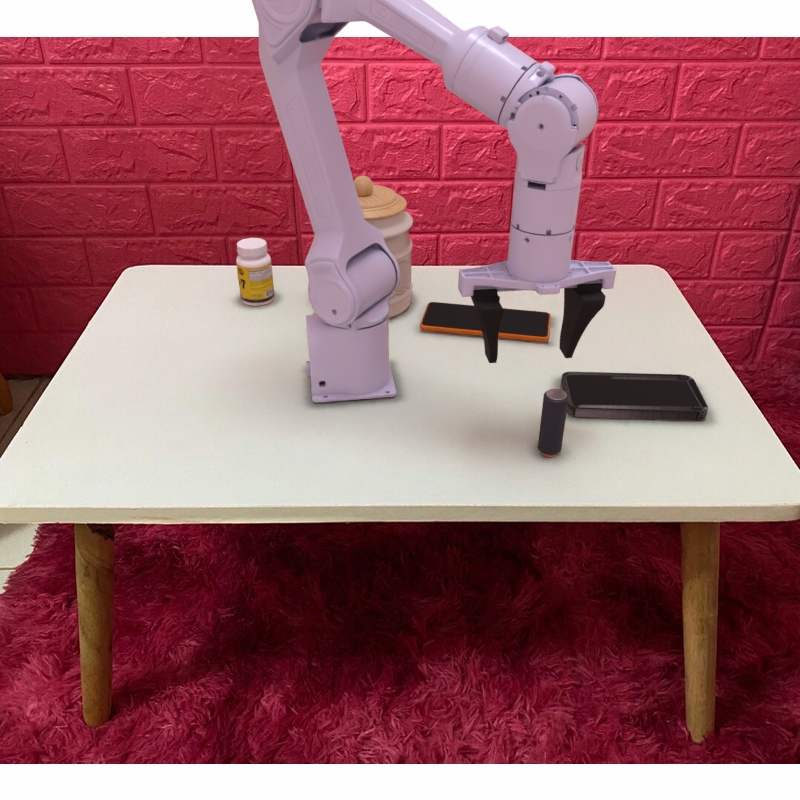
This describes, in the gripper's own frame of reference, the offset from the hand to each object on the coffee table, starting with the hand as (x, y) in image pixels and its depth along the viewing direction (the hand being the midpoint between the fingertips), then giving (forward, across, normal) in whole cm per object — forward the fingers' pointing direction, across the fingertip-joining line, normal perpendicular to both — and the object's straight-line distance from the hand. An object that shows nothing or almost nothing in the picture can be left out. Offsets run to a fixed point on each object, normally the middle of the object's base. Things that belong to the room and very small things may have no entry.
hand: (528, 355), depth 76 cm
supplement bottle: (+10, -28, +36) cm, 47 cm away
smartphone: (+9, +2, +24) cm, 26 cm away
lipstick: (+9, +2, -4) cm, 10 cm away
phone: (+9, +14, +4) cm, 17 cm away
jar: (+10, -13, +33) cm, 37 cm away
